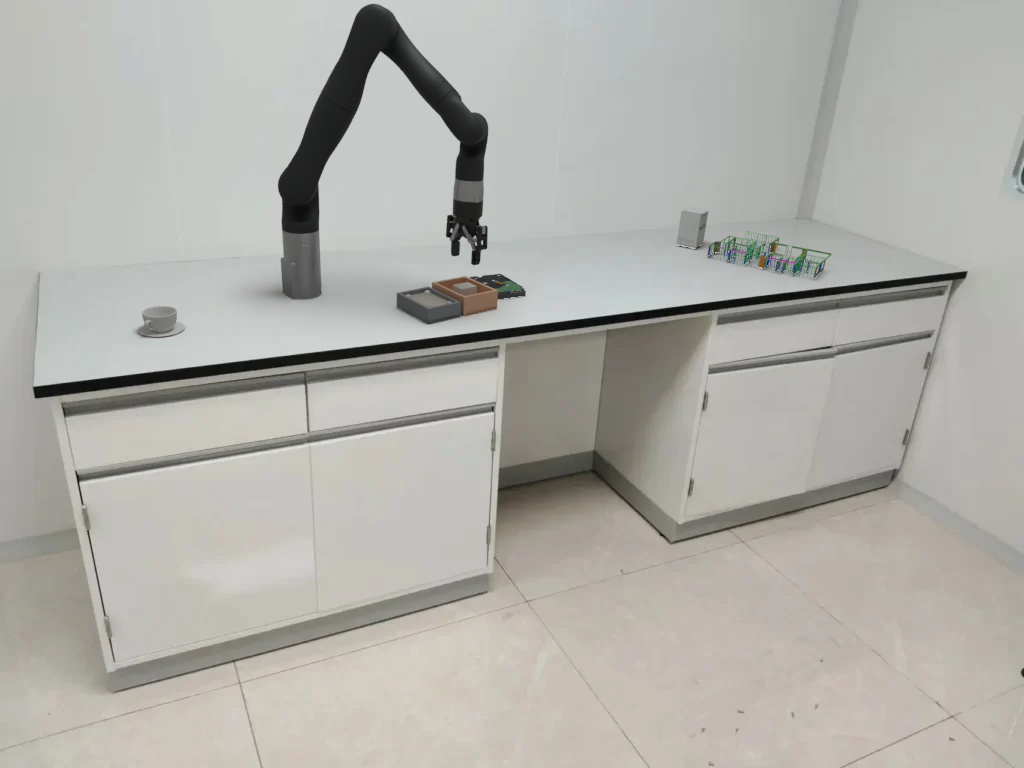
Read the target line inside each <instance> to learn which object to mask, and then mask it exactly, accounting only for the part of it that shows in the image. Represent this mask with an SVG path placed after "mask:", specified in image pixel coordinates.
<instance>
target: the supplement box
mask: <svg viewBox="0 0 1024 768" xmlns="http://www.w3.org/2000/svg"><path fill="white" fill-rule="evenodd" d="M708 215H709V210H707V209H702V208H696V207H690V206H689V207H687V208H685V209H682V210H681V212H680V219H679V224H678V225H679V226H678V230H677V231H678V233H677V237H676V244H679V245H684V246H688V247H693V248H697V247H699V246H700V245H702V244H704V240H705V239H704V238H705V233H706V228H707V222H708ZM699 248H700V247H699ZM697 249H698V248H697Z"/></svg>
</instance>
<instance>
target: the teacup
mask: <svg viewBox="0 0 1024 768" xmlns="http://www.w3.org/2000/svg"><path fill="white" fill-rule="evenodd" d="M141 315H142V319H143V323H144V324H143V325H141V326H140V327H138V329H137V333H139V334H140V335H142V336H146V337H150V338H151V337H153V338H160V337H168V336H174V335H177V334H179V333H182V332H183V331H184V330H185V326H186V325H184V324H183V323H181V322H179V321H177V320H178V310H177V308H175V307H173V306H169V305H168V306H167V305H157V306H151V307H147V308H145V309H143V310H142V311H141Z"/></svg>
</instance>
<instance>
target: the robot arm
mask: <svg viewBox="0 0 1024 768" xmlns="http://www.w3.org/2000/svg"><path fill="white" fill-rule="evenodd" d="M380 52H381V53H382V54H383V55H385V56H386V58H388V59H389V60H390V61H391V62H393V63H394V64H395V65H396V67H398V68H399V70H400V71H401V72H402V73H403V74H404V76H405V77H406V78H407V79H408V81H409V82H410V83H411V85H412V86H413V87H414V89H415V90H416V92H417V93H418V94H419V96H421V98H422V99H423V100H424V101H425V102H426V103H427V104H428V105H429V107H431V108H432V110H434V111H435V113H437V114H438V116H440V118H441V120H442V121H443V122H444V124H445V126H446V127H447V129H449V131H450V133H451V134H452V135H453V137H454V138H455V139H456V140H458V142H459V153H458V155H457V156H456V160H455V170H454V175H455V177H454V183H453V191H452V193H453V195H452V214H448V215H447V216H446V217H447V218H446V227H445V229H446V230H445V236H446V238H449V241H450V243H451V244H450V253H451V254H450V255H451V256H452V257H459V256H460V251H461V250H460V249H461V241H460V240H461V239H462V238H464V239H467V240H466V241H467V242H468V244H470V247H471V248H472V249H471V257H470V259H471V260H470V262H471V263H470V264H471V265H473V266H477V265H479V264H480V263H481V257H482V256H481V253H482V251H483V250H487V249H488V236H489V235H488V232H489V231H488V226H487V225H480V219H481V218H482V216H483V213H484V209H483V208H484V195H485V194H484V191H485V185H484V178H485V177H484V174H485V155H486V153H487V152H486V151H487V144H488V138H489V123H488V121H487V119H486V118H485V116H484V115H482V114H481V113H479V112H473V111H472V112H471V110H470V108H468V107H467V105H466V103H464V102H463V99H462V96H461V94H460V93H459V91H458V90H457V89H455V87H454V86H453V85H452V84H451V83H450V82H449V81H448V80H447V79H446V77H445V76H443V74H442V73H441V72H440V71H439V70H438V69H437V68H436V67H435V66H434V65H433V64H432V63H431V62H430V61H429V60H428V58H426V57H425V56H424V55H423V53H421V51H420V50H419V49H418V48H417V47H416V45H415V44H414V43H413V42H412V41H411V39H410V37H409V36H408V34H407V33H406V32H405V30H404V29H403V27H402V26H401V25H400V22H399V21H398V20H397V17H396V16H395V14H394V13H393V12H392V11H391V10H390V9H389V8H387V7H384V6H383V5H381V4H378V3H369V4H366V5H364V6H363V7H361V8H360V9H359V11H357V13H356V15H355V17H354V20H353V23H352V25H351V28H350V30H349V33H348V36H347V39H346V42H345V44H344V48H343V50H342V52H341V54H340V57H339V58H338V60H337V62H336V63H335V65H334V67H333V69H332V71H331V73H330V75H329V76H328V79H327V80H326V82H325V84H324V86H323V88H322V90H320V91H321V92H320V93H319V95H318V98H317V100H316V102H315V104H314V106H313V109H312V111H311V113H310V116H309V117H308V122H307V123H306V126H305V130H304V132H303V135H302V139H301V141H300V143H299V146H298V148H297V150H296V151H295V152H294V153H295V154H294V155H293V157H292V159H291V160H290V161H289V164H288V165H287V167H286V168H284V170H283V171H282V172H281V174H280V176H279V178H278V181H277V189H278V190H277V191H278V195H280V198H281V202H282V203H281V205H282V206H281V236H282V248H283V250H282V251H283V257H280V268H281V269H280V271H281V273H280V274H281V287H282V288H281V289H282V294H284V295H285V296H287V297H289V298H290V299H292V300H296V299H304V300H305V299H313V298H317V297H319V296H321V295H322V287H323V286H322V285H323V284H322V270H321V267H322V266H321V265H322V264H321V245H320V244H321V241H320V239H321V238H320V191H319V190H320V187H319V182H320V180H321V177H322V174H323V172H324V169H325V167H326V164H328V161H329V159H330V158H331V156H332V155H333V153H334V152H335V150H336V149H337V147H338V146H339V144H340V142H341V141H342V140H343V138H344V136H345V134H346V133H347V131H348V130H349V128H350V126H351V124H352V122H353V119H355V115H356V114H357V112H358V109H360V108H359V107H360V105H361V101H362V100H363V99H362V98H363V94H364V90H365V88H366V87H365V86H366V84H367V83H366V82H367V79H368V76H369V73H370V70H371V68H372V66H373V65H374V63H375V61H376V59H377V58H378V56H379V55H380ZM451 229H452V230H451Z"/></svg>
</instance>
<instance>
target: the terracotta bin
mask: <svg viewBox="0 0 1024 768" xmlns="http://www.w3.org/2000/svg"><path fill="white" fill-rule="evenodd" d="M466 282H469V283H471V284H473V285H475V286H477V294H473V295H468V296H464V295H461V294H459V293H457V292H455V291H453V290H452V286H453V285H455V284H460V283H466ZM431 288H433V289H435V290H437V291H439V292H441V293H443V294H445V295H447V296H450V297H452V298H454V299H456V300H458V301H460V302H461V316H462V317H466V315H467V316H470V315H474V313H475V314H479V312H480V313H484V312H488V311H487V310H489V311H493V310H497V309H498V300H497V299H498V290H496V289H494V288H491V287H489V286H487V285H485V284H482V283H480V282H478V281H476V280H473V279H471V278H470V277H468V276H466V275H463V276H458V277H457V276H456V277H452V278H448V279H441V280H436V281H432V282H431ZM496 308H497V309H496ZM492 309H493V310H492ZM483 311H484V312H483Z"/></svg>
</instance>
